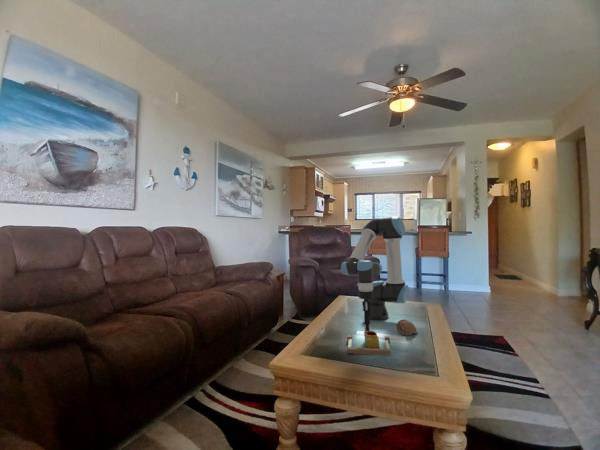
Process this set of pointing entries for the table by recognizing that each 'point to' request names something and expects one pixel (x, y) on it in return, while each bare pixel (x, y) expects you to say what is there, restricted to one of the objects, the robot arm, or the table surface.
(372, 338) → the mug
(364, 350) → the pocket
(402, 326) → the seashell
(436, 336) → the table surface
